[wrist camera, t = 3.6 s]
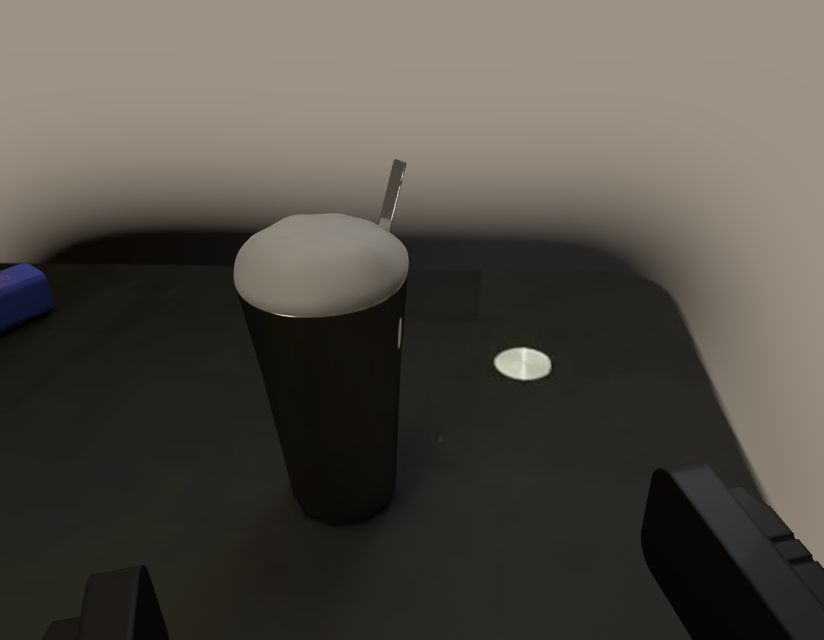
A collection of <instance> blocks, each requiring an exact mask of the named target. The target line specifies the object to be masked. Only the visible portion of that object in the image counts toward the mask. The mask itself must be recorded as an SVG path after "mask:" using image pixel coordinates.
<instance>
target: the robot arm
mask: <svg viewBox="0 0 824 640" xmlns="http://www.w3.org/2000/svg"><path fill="white" fill-rule="evenodd" d="M641 544H642V550H643V554H644V557H645V560H646V563H647V565H648V567H649V569H650V571H651V573H652V575H653V576H654V578H655V579H656V581H657V583H658V584H659V586H660V588H661V589H662V591H663V592H664V594H665V596H666V597H667V599H668V601H669V602H670V604H671V606H672V607H673V609H674V610H675V612H676V614H677V615H678V617H679V619H680V620H681V622H682V623H683V625H684V627H685V628H686V630H687V632H688V633H689V635H690V636H691V638H692V640H824V568H823V567H822V566H821V565H820V563H819V562H818V561H814V560H813V558H812V554H811V553H810V552H809V551H808V550H807V548H806V547H805V546H804V545H803V544H802V543H801V541H800V540H799V539H795V538H794V533H793V532H792V531H791V530H790V529H789V528H788V526H787V525H786V524H785V523H784V522H783V521H782V519H781V518H780V517H779V516H778V515H777V514H776V512H775V511H774V510H773V509H772V508H771V507H770V506H768V505H767V504H765V503H764V502H762V501H761V500H759V499H758V498H756V497H755V496H753V495H752V494H750V493H749V492H747V491H746V490H744V489H743V488H741V487H737V488H732V489H728V488H727V486H726V485H725V484H724V483H723V481H722V480H721V479H720V478H719V477H718V475H717V474H716V473H715V472H714V470H713V469H712V468H711V467H710V466H709V465H708V464H706V463H705V462H703V461H696V462H690V463H685V464H680V465H675V466H669V467H664V468H659V469H656V470H655V471H654V473H653V475H652V478H651V484H650V489H649V494H648V499H647V504H646V509H645V514H644V520H643V525H642V530H641ZM41 640H169V637H168V632H167V628H166V624H165V621H164V618H163V615H162V612H161V609H160V606H159V603H158V600H157V597H156V594H155V590H154V587H153V584H152V581H151V578H150V575H149V572H148V570H147V568H146V566H145V565H141V566H135V567H130V568H125V569H120V570H114V571H109V572H104V573H99V574H93V575H91V576H90V577H89V578H88V581H87V583H86V588H85V593H84V599H83V605H82V610H81V616H80V617H75V618H70V619H65V620H60V621H55V622H52V624H51V625H50V627H49V629H48V630H47V632H46V633H45V635H44V636H43V638H42V639H41Z"/></svg>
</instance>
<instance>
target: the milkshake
mask: <svg viewBox="0 0 824 640" xmlns="http://www.w3.org/2000/svg"><path fill="white" fill-rule="evenodd" d="M405 168H406V163H405V162H403V161H400V160H396V159H395V160H394V162H393V166H392V170H391V174H390V178H389V182H388V187H387V191H386V195H385V199H384V203H383V207H382V212H381V215H380V220H379V223H378V225H376V224H375V223H373V222H371V221H368V220H364V219H360V218H355V217H351V216H348V215H344V214H336V213H331V214H311V215H293V216H289V217H286V218H284V219H282V220H280V221H279V222H277V223H275V224H274V225H272V226H270V227H268V228H266V229H264V230H262V231H260V232H258V233H256V234H255V235H254V236H252V237H251V238H250V239H249V240H248V241H247V242H246V243H245V244H244V245H243V246H242V247H241V249H240V251H239V253H238V255H237V257H236V260H235V265H234V282H235V286H236V290H237V293H238V297H239V300H240V303H241V307H242V310H243V313H244V316H245V320H246V323H247V326H248V330H249V333H250V336H251V340H252V343H253V346H254V350H255V353H256V356H257V359H258V362H259V366H260V369H261V373H262V376H263V380H264V384H265V388H266V392H267V395H268V399H269V403H270V407H271V411H272V414H273V418H274V422H275V426H276V430H277V434H278V437H279V441H280V445H281V449H282V453H283V456H284V460H285V464H286V468H287V472H288V475H289V479H290V483H291V487H292V490H293V493H294V495H295V497H296V498H297V500H298V502H299V504H300V506H301V507H302V509H303V511H304V513H305V514H306V515H308V516H311V517H313V518H316V519H319V520H322V521H324V522H327V523H330V524H332V525H337V524H344V523H350V522H356V521H363V520H367V519H369V518H370V517H371V516H373V515H374V514H375V513H376V512H378V511H379V510H380V509H382V508H383V507H384V506H386V505H387V504H388V503H390V502H391V498H392V493H393V489H394V484H395V480H396V472H397V447H398V421H399V396H400V370H401V353H402V342H403V330H404V317H405V304H406V291H407V277H408V264H409V261H408V254H407V250H406V248H405V246H404V245H403V244H402V242H401V241H399V240H398V239H397V238H396V237H395V236H394V235H392V234H391V233H390V229H391V224H392V221H393V216H394V213H395V208H396V204H397V201H398V196H399V192H400V188H401V184H402V180H403V176H404V172H405Z"/></svg>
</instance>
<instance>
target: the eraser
mask: <svg viewBox="0 0 824 640" xmlns="http://www.w3.org/2000/svg"><path fill="white" fill-rule="evenodd" d="M53 306H54V302H53V298H52V295H51V291H50V288H49V284H48V281H47V278H46V277H45V276H44V274H43V272H41V271H40V270H38V269H36V268H34V267H33V266H31V265H29V264H27V263H23V264H19V265H16V266H14V267H11V268H8V269H5V270H2V271H0V333H1V332H3V331H5V330H7V329H10V328H12V327H14V326H16V325H19V324H21V323H23V322H25V321H27V320H29V319H31V318H33V317H36V316H38V315H41V314H43V313H45V312H48V311H50V310H51V309H52V308H53Z"/></svg>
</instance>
